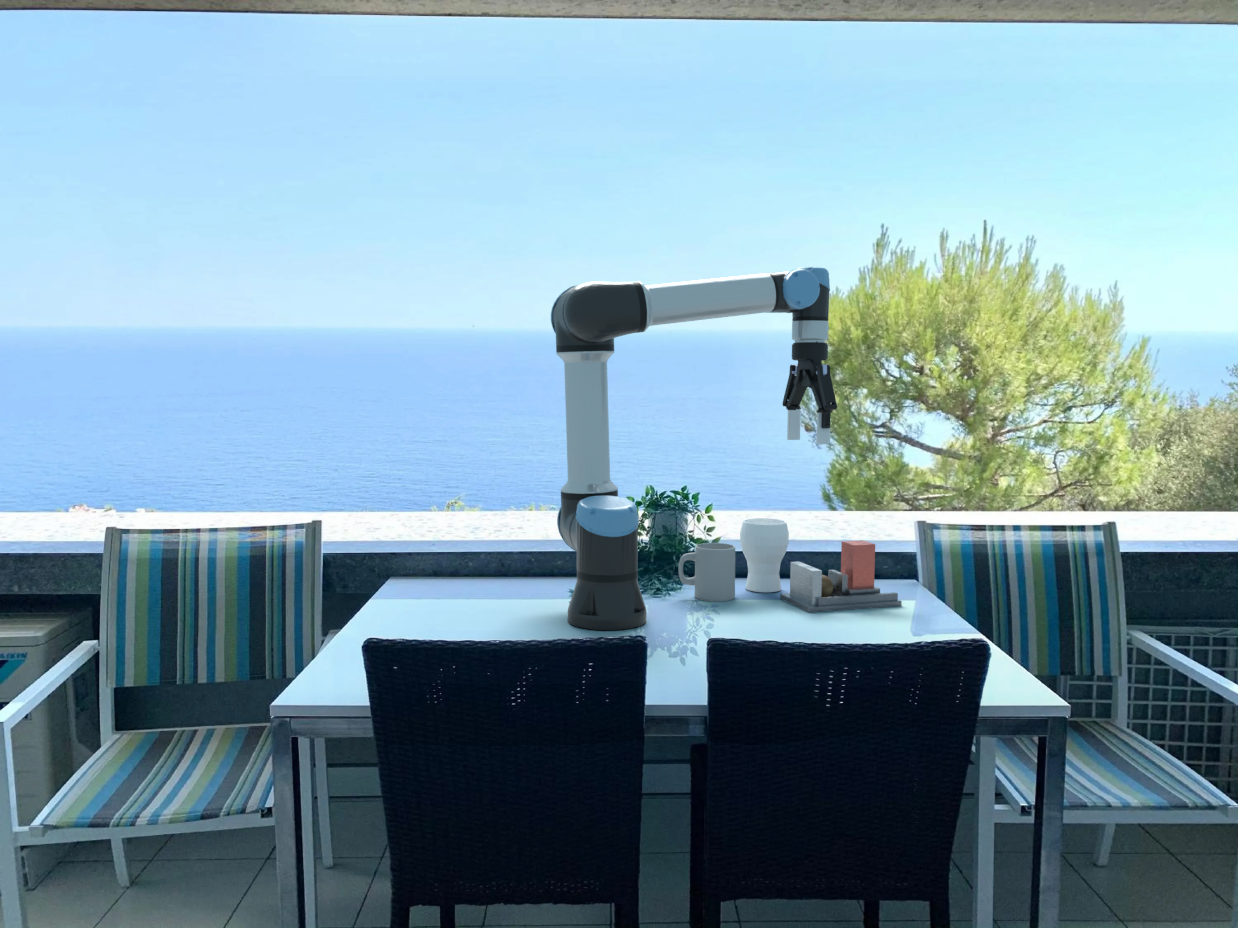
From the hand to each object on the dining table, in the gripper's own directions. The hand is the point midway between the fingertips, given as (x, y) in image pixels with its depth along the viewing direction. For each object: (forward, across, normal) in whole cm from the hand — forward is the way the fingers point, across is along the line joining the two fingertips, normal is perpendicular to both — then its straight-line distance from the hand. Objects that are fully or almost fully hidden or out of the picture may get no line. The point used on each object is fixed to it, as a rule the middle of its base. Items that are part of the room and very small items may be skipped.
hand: (807, 442), depth 219 cm
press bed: (+33, -10, -3) cm, 34 cm away
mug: (+33, +2, +22) cm, 40 cm away
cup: (+33, +6, +7) cm, 34 cm away
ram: (+31, -10, -6) cm, 33 cm away
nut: (+33, -10, +2) cm, 34 cm away
